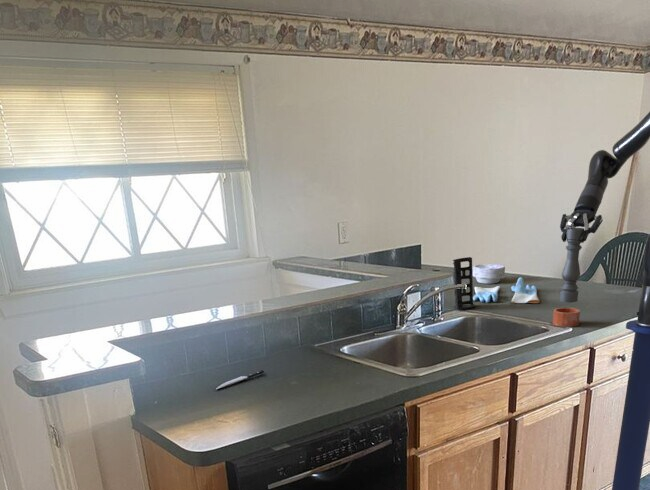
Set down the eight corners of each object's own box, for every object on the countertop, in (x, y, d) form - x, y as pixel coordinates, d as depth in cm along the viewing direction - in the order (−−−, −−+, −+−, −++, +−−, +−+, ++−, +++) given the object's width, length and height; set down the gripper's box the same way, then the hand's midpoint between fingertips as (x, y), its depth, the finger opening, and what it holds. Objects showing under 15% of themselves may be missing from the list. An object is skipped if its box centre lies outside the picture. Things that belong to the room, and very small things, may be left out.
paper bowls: (508, 280, 321) (509, 264, 318) (498, 286, 309) (499, 269, 306) (478, 278, 329) (479, 262, 325) (467, 284, 317) (468, 267, 314)
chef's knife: (209, 389, 189) (215, 390, 187) (208, 385, 188) (215, 386, 186) (258, 371, 201) (265, 373, 199) (258, 368, 201) (264, 369, 199)
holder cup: (584, 324, 237) (585, 311, 235) (563, 328, 234) (565, 314, 232) (567, 319, 244) (568, 306, 242) (547, 322, 242) (548, 309, 240)
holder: (466, 310, 264) (464, 260, 258) (449, 310, 269) (446, 260, 262) (478, 305, 272) (476, 256, 266) (461, 305, 277) (459, 257, 270)
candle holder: (563, 298, 240) (570, 227, 230) (579, 299, 236) (587, 228, 226) (556, 301, 236) (563, 229, 226) (573, 303, 232) (581, 230, 222)
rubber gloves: (471, 303, 277) (472, 288, 275) (474, 288, 306) (475, 274, 304) (539, 304, 271) (540, 288, 268) (535, 288, 300) (536, 274, 297)
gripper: (567, 194, 231) (549, 233, 228) (608, 194, 222) (591, 234, 219) (571, 208, 237) (554, 246, 234) (611, 209, 228) (595, 248, 225)
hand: (572, 240), depth 226 cm, fingers closed on candle holder, 5 cm apart
